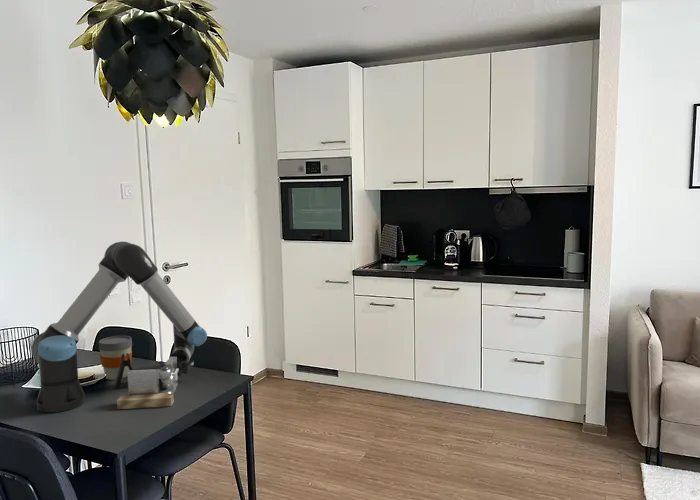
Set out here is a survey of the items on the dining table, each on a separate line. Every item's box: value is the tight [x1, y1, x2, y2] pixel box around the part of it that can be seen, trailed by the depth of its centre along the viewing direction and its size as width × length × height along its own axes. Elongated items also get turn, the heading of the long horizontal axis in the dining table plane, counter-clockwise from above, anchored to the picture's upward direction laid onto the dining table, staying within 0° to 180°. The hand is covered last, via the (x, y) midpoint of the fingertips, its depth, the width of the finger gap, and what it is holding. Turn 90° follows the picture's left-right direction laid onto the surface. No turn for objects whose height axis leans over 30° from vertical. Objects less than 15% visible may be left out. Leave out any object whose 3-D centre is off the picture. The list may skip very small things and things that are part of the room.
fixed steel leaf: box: [127, 367, 172, 396], centre depth 192 cm, size 14×4×12 cm, turn 97°
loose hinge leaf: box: [161, 356, 179, 394], centre depth 201 cm, size 4×14×11 cm, turn 8°
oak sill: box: [116, 393, 175, 410], centre depth 189 cm, size 18×4×3 cm, turn 97°
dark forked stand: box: [114, 353, 135, 390], centre depth 208 cm, size 9×6×12 cm, turn 114°
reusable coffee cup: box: [98, 335, 133, 380], centre depth 218 cm, size 12×13×15 cm
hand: (168, 378), depth 197 cm, fingers closed on loose hinge leaf, 4 cm apart
